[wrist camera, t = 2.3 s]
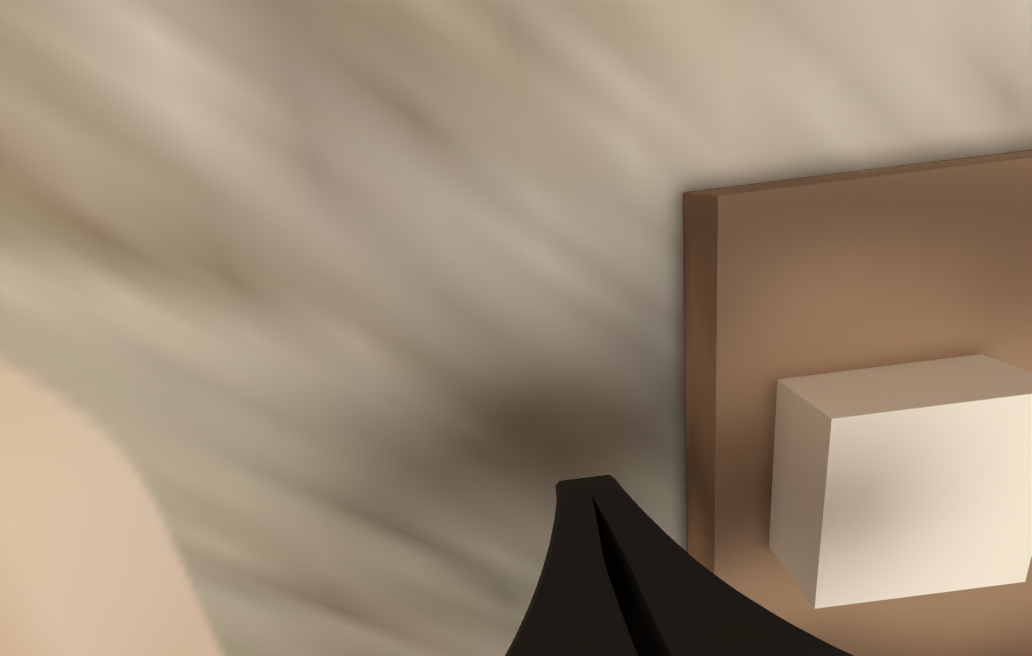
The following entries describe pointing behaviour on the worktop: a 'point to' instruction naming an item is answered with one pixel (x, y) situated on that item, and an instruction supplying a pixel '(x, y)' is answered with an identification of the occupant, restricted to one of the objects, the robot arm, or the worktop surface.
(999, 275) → the board
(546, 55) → the worktop surface
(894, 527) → the block
